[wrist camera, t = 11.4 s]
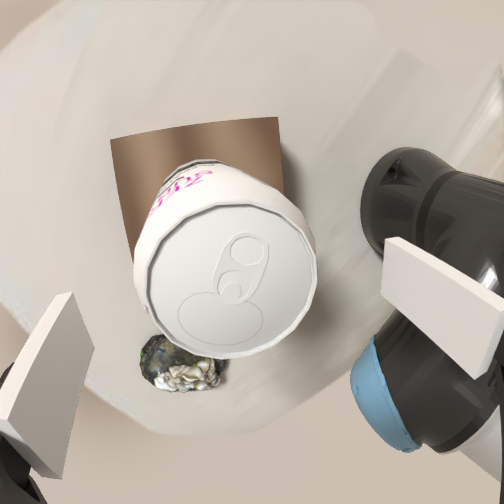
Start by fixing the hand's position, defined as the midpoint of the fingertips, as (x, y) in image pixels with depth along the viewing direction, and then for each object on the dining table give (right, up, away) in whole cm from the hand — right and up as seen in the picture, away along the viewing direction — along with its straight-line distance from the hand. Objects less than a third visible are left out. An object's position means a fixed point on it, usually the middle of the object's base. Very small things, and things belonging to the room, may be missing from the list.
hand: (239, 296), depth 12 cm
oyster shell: (-9, -12, +27) cm, 31 cm away
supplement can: (-4, +6, +14) cm, 15 cm away
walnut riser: (-5, +8, +19) cm, 21 cm away
